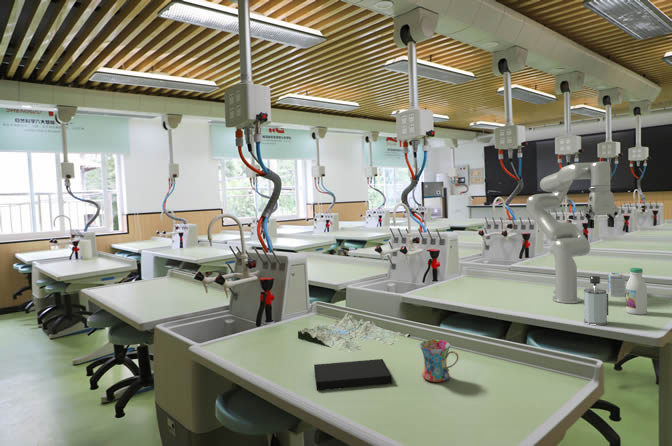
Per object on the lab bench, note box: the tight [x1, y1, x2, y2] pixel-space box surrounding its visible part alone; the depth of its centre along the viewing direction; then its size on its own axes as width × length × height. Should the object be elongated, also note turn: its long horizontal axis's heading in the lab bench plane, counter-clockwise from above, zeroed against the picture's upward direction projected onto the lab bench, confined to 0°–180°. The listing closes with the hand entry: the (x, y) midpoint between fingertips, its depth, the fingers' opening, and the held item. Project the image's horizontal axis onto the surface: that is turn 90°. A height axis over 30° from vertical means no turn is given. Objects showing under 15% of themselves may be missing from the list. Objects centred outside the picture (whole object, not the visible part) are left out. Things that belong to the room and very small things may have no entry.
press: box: [583, 287, 609, 326], centre depth 183 cm, size 8×9×14 cm
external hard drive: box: [313, 358, 393, 391], centre depth 139 cm, size 14×23×3 cm, turn 96°
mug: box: [419, 339, 460, 383], centre depth 135 cm, size 12×9×11 cm
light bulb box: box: [607, 272, 626, 298], centre depth 228 cm, size 11×7×11 cm, turn 154°
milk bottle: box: [625, 267, 648, 316], centre depth 194 cm, size 8×8×20 cm
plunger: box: [589, 275, 601, 291], centre depth 182 cm, size 6×6×15 cm
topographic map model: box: [297, 312, 411, 353], centre depth 179 cm, size 36×29×5 cm
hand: (600, 227), depth 196 cm, fingers open, 9 cm apart
